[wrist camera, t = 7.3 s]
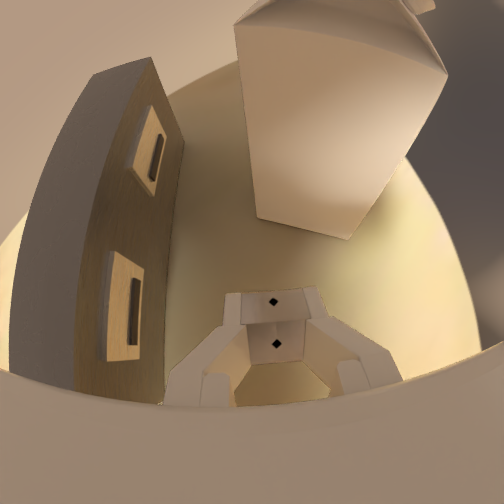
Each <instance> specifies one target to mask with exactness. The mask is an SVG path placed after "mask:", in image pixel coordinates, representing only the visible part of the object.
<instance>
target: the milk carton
mask: <svg viewBox="0 0 504 504" xmlns="http://www.w3.org/2000/svg"><path fill="white" fill-rule="evenodd" d="M435 8H436V6H435V3H434V1H433V0H258V1H257V2H256V3H255V4H254V5H253V6H252V7H251V8H250V9H249V10H248V11H246V12H245V13H244V15H242V16H241V17H240V19H239V20H237V22H236V23H235V24H234V32H235V40H236V47H237V55H238V63H239V71H240V79H241V87H242V95H243V104H244V112H245V120H246V128H247V137H248V145H249V154H250V162H251V171H252V180H253V188H254V197H255V206H256V215H257V218H260V219H264V220H269V221H273V222H277V223H281V224H285V225H290V226H294V227H298V228H302V229H306V230H310V231H314V232H318V233H322V234H326V235H330V236H334V237H337V238H341V239H345V240H349V239H350V237H351V236H352V234H353V233H354V232H355V230H356V229H357V227H358V226H359V225H360V223H361V222H362V220H363V219H364V217H365V216H366V215H367V213H368V212H369V210H370V209H371V207H372V206H373V204H374V203H375V201H376V200H377V199H378V197H379V196H380V194H381V193H382V191H383V190H384V188H385V186H386V185H387V183H388V182H389V180H390V179H391V177H392V176H393V174H394V173H395V171H396V169H397V168H398V166H399V165H400V163H401V161H402V160H403V158H404V157H405V155H406V153H407V152H408V150H409V148H410V147H411V145H412V143H413V142H414V140H415V138H416V137H417V135H418V133H419V131H420V130H421V128H422V126H423V125H424V123H425V121H426V119H427V118H428V116H429V114H430V112H431V110H432V108H433V107H434V105H435V103H436V101H437V99H438V97H439V95H440V93H441V91H442V89H443V87H444V85H445V82H446V80H447V78H448V73H447V71H446V69H445V67H444V65H443V63H442V61H441V59H440V57H439V55H438V53H437V51H436V49H435V48H434V46H433V44H432V42H431V41H430V39H429V37H428V36H427V34H426V32H425V31H424V29H423V28H422V26H421V25H420V23H419V21H418V20H417V18H416V17H415V16H414V15H416V14H418V15H419V14H422V13H423V12H425V11H429V10H432V9H435Z"/></svg>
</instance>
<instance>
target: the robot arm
mask: <svg viewBox="0 0 504 504" xmlns="http://www.w3.org/2000/svg"><path fill="white" fill-rule="evenodd" d="M292 361H303V362H304V363H305V364H306V365H307V366H308V367H309V368H310V369H311V370H312V371H313V372H314V373H315V374H316V375H317V376H318V377H319V378H320V379H321V380H322V381H323V382H324V383H325V384H326V385H327V386H328V387H329V388H330V389H331V390H330V393H329V397H328V398H325V399H318V400H311V401H304V402H296V403H287V404H276V405H263V406H245V407H237V406H236V402H235V397H234V391H235V390H236V388H237V387H238V385H239V384H240V383H241V381H242V380H243V378H244V377H245V375H246V374H247V372H248V371H249V369H250V368H251V365H259V364H269V363H279V362H292ZM0 504H504V341H502V342H501V343H498V344H497V345H494V346H492V347H490V348H488V349H487V350H484V351H482V352H480V353H478V354H475V355H473V356H471V357H468V358H466V359H464V360H461V361H459V362H456V363H454V364H451V365H449V366H446V367H443V368H441V369H438V370H435V371H432V372H429V373H426V374H423V375H420V376H417V377H414V378H411V379H408V380H404V381H403V379H402V377H401V375H400V373H399V371H398V368H397V366H396V364H395V362H394V360H393V358H392V356H391V354H390V352H389V351H388V350H386V349H385V348H383V347H382V346H380V345H378V344H377V343H375V342H374V341H372V340H370V339H369V338H367V337H365V336H364V335H362V334H361V333H359V332H357V331H356V330H354V329H353V328H351V327H350V326H348V325H346V324H345V323H343V322H342V321H340V320H338V319H337V318H335V317H334V316H332V317H329V316H328V313H327V310H326V308H325V305H324V302H323V300H322V297H321V295H320V292H319V290H318V287H316V286H311V287H304V288H298V289H288V290H278V291H258V292H242V293H241V292H239V293H226V295H225V302H224V312H223V323H222V326H217V327H216V328H215V329H214V330H213V331H212V332H211V333H210V334H209V335H208V336H207V337H206V338H205V339H204V340H203V341H202V342H201V343H200V344H199V345H197V346H196V347H195V348H194V349H193V350H192V351H191V352H190V353H189V354H188V355H187V356H186V357H185V358H184V359H183V360H182V361H180V362H179V363H178V364H177V365H176V366H175V367H174V368H173V369H172V370H171V371H170V374H169V378H168V382H167V387H166V391H165V395H164V400H163V405H158V404H148V403H139V402H131V401H123V400H117V399H111V398H105V397H99V396H94V395H89V394H84V393H80V392H75V391H71V390H67V389H63V388H59V387H55V386H52V385H48V384H45V383H41V382H38V381H35V380H32V379H28V378H25V377H22V376H20V375H17V374H14V373H11V372H9V371H6V370H3V369H1V368H0Z"/></svg>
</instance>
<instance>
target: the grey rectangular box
mask: <svg viewBox="0 0 504 504" xmlns="http://www.w3.org/2000/svg"><path fill="white" fill-rule="evenodd" d="M183 147H184V139H183V137H182V134H181V132H180V129H179V127H178V124H177V122H176V119H175V117H174V114H173V112H172V109H171V107H170V104H169V102H168V99H167V97H166V94H165V92H164V89H163V87H162V84H161V82H160V79H159V76H158V74H157V71H156V69H155V66H154V63H153V61H152V58H151V57H148V58H144V59H140V60H137V61H133V62H130V63H126V64H123V65H120V66H117V67H114V68H111V69H108V70H105V71H103V72H100V73H97V74H94V75H93V76H92V78H91V79H90V80H89V82H88V84H87V85H86V87H85V89H84V90H83V92H82V93H81V95H80V96H79V98H78V100H77V102H76V103H75V105H74V107H73V108H72V110H71V112H70V114H69V116H68V118H67V120H66V122H65V124H64V125H63V127H62V129H61V131H60V133H59V136H58V137H57V139H56V142H55V144H54V146H53V148H52V150H51V153H50V155H49V157H48V160H47V162H46V164H45V167H44V169H43V172H42V175H41V177H40V180H39V183H38V185H37V188H36V191H35V194H34V197H33V200H32V203H31V206H30V210H29V213H28V216H27V220H26V224H25V227H24V231H23V235H22V240H21V244H20V249H19V253H18V258H17V264H16V269H15V276H14V282H13V290H12V299H11V309H10V324H9V371H10V372H11V373H14V374H17V375H20V376H22V377H25V378H28V379H32V380H35V381H38V382H41V383H45V384H48V385H52V386H55V387H59V388H63V389H67V390H71V391H75V392H80V393H84V394H89V395H94V396H99V397H105V398H111V399H117V400H123V401H131V402H139V403H148V404H158V403H160V402H162V401H163V400H164V323H165V301H166V284H167V270H168V259H169V248H170V238H171V229H172V220H173V212H174V204H175V197H176V190H177V183H178V177H179V171H180V165H181V159H182V153H183Z"/></svg>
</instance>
